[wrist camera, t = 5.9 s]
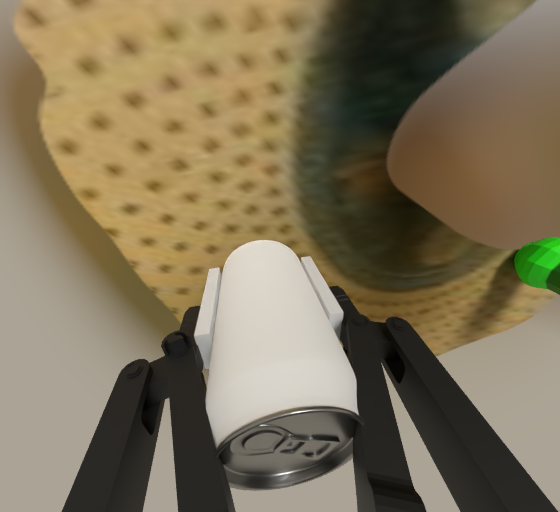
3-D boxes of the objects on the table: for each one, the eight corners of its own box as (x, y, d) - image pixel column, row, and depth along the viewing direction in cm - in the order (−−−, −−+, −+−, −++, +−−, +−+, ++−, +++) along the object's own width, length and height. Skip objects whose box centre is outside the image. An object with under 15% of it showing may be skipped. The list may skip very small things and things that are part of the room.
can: (245, 222, 16) (258, 384, 5) (315, 258, 18) (415, 418, 8) (208, 288, 18) (165, 496, 8) (275, 312, 20) (312, 495, 10)
